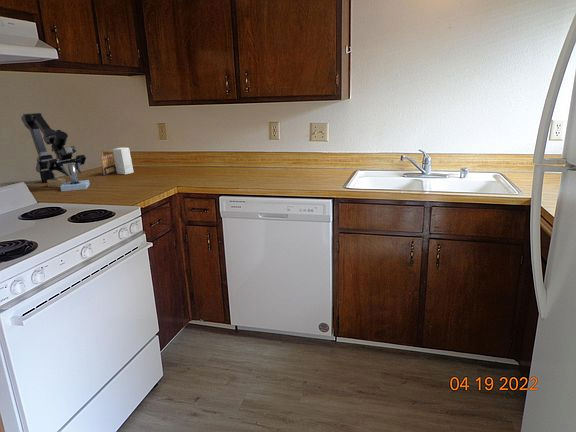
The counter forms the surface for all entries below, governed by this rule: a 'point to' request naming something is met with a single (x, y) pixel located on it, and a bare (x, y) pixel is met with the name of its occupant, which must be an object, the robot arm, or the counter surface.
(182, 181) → the counter surface
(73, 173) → the round bit
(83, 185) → the holder
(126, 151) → the skincare box
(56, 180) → the square bit
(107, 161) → the brown flat upright board
